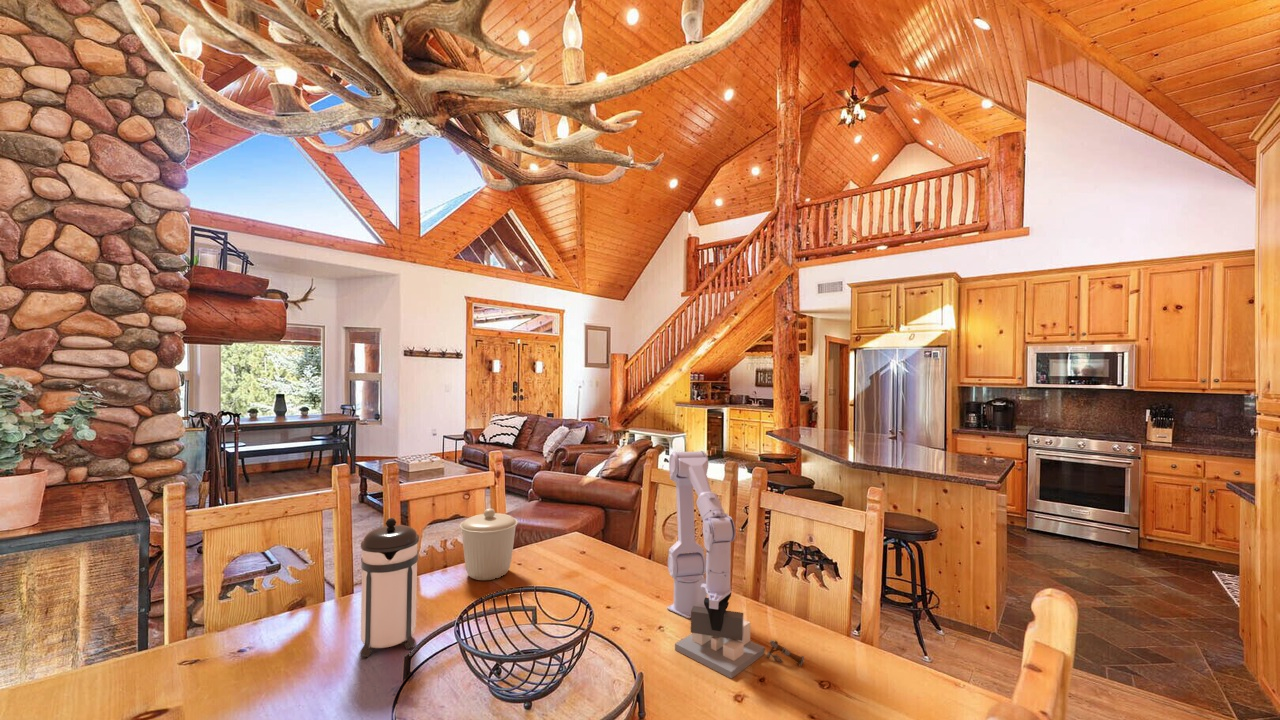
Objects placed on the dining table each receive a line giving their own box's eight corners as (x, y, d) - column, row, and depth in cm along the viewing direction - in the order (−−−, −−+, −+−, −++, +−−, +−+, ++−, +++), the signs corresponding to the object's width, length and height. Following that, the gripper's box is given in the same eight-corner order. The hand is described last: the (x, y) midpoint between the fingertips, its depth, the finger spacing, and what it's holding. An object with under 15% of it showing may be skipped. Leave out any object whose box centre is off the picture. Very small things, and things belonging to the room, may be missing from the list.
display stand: (709, 629, 133) (710, 605, 133) (764, 653, 122) (765, 628, 122) (674, 649, 123) (675, 624, 123) (731, 678, 112) (731, 651, 112)
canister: (465, 564, 174) (466, 501, 174) (520, 562, 176) (521, 500, 176) (452, 587, 156) (453, 517, 156) (513, 585, 158) (514, 516, 158)
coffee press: (438, 633, 129) (441, 513, 130) (383, 666, 115) (385, 531, 115) (390, 618, 137) (392, 504, 137) (332, 647, 122) (334, 520, 122)
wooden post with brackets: (763, 652, 121) (771, 636, 121) (795, 672, 119) (803, 655, 119) (762, 656, 119) (771, 640, 119) (795, 676, 117) (804, 659, 117)
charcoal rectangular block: (693, 626, 125) (693, 605, 125) (743, 634, 122) (743, 612, 122) (690, 632, 122) (691, 611, 122) (742, 640, 119) (742, 618, 119)
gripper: (706, 555, 130) (705, 609, 130) (696, 578, 116) (695, 638, 116) (734, 559, 128) (733, 614, 128) (727, 582, 114) (726, 644, 114)
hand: (717, 626), depth 122 cm, fingers closed on charcoal rectangular block, 3 cm apart
